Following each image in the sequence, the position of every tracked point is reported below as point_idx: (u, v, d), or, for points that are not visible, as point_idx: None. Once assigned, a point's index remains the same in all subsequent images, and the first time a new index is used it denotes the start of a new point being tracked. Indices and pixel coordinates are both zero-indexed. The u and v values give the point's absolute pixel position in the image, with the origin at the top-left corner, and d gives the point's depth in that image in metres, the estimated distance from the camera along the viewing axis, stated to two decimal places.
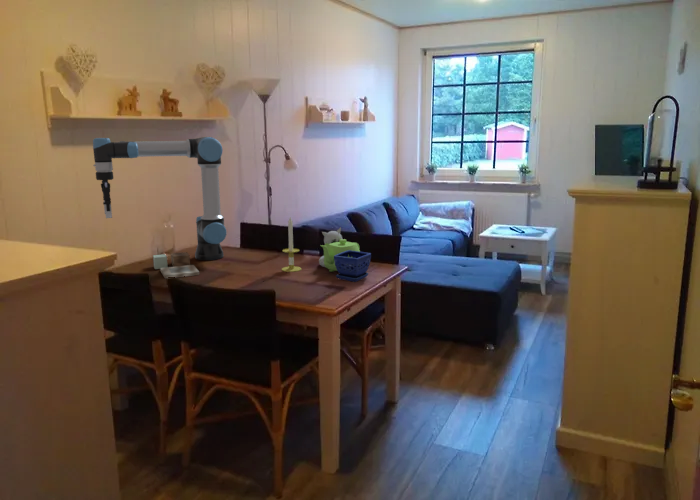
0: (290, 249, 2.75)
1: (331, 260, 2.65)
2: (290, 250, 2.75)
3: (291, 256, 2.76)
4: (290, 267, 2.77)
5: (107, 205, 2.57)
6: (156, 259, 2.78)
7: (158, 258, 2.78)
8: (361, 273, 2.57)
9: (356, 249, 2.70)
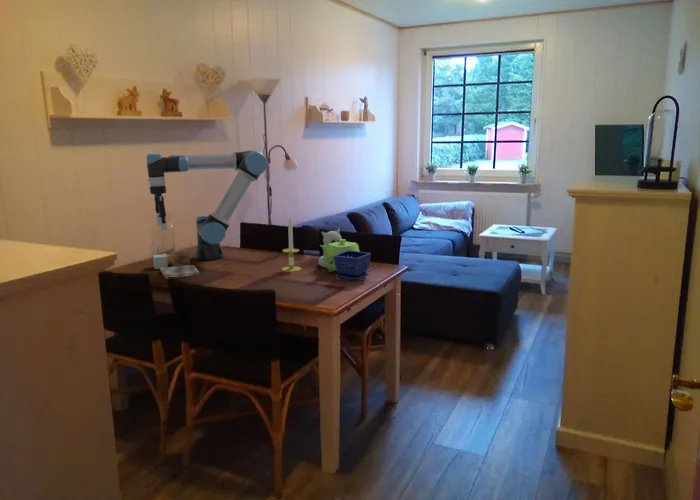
0: (290, 249, 2.75)
1: (331, 260, 2.65)
2: (290, 250, 2.75)
3: (291, 256, 2.76)
4: (290, 267, 2.77)
5: (162, 218, 2.70)
6: (156, 259, 2.78)
7: (158, 258, 2.78)
8: (361, 273, 2.57)
9: (356, 249, 2.70)
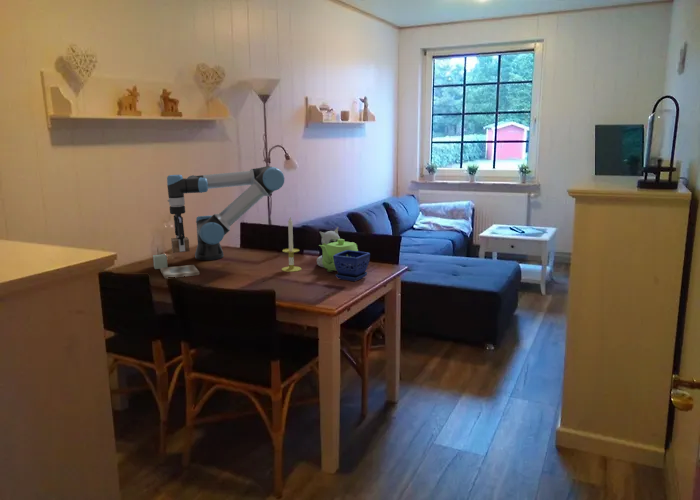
0: (290, 249, 2.75)
1: (330, 260, 2.65)
2: (290, 250, 2.75)
3: (291, 256, 2.76)
4: (290, 267, 2.77)
5: (181, 240, 2.78)
6: (156, 259, 2.78)
7: (158, 258, 2.78)
8: (360, 272, 2.57)
9: (354, 249, 2.70)
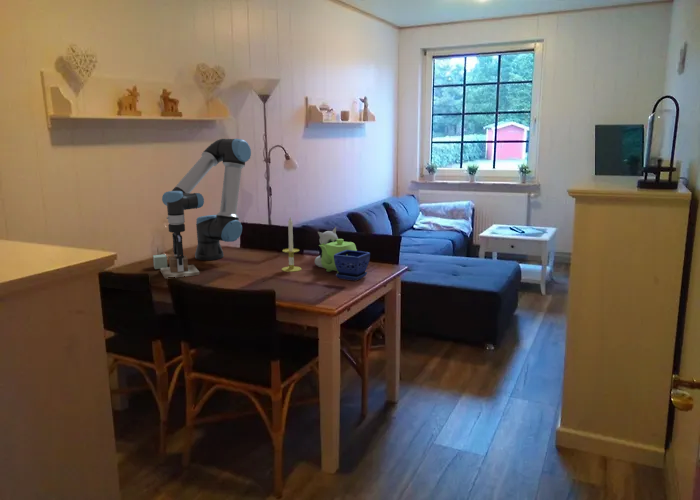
0: (290, 249, 2.75)
1: (329, 260, 2.65)
2: (290, 250, 2.75)
3: (291, 256, 2.76)
4: (290, 267, 2.77)
5: (180, 259, 2.64)
6: (156, 259, 2.78)
7: (158, 258, 2.78)
8: (361, 272, 2.58)
9: (353, 248, 2.71)
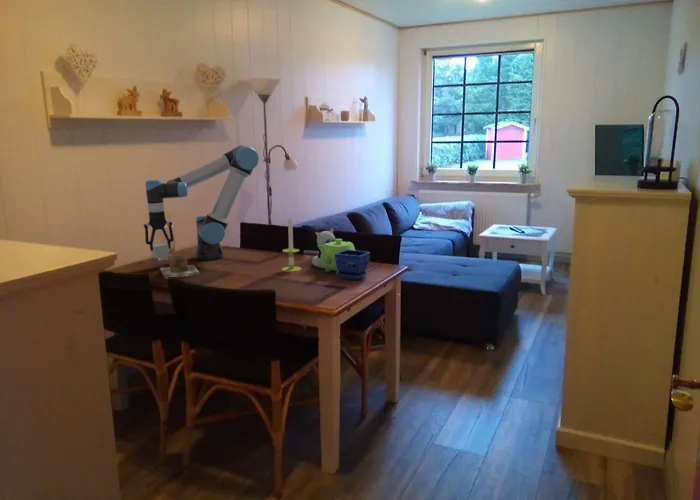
0: (290, 249, 2.75)
1: (329, 260, 2.65)
2: (290, 250, 2.75)
3: (291, 256, 2.76)
4: (290, 267, 2.77)
5: None
6: (156, 248, 2.77)
7: (158, 247, 2.77)
8: (361, 271, 2.59)
9: (352, 248, 2.72)
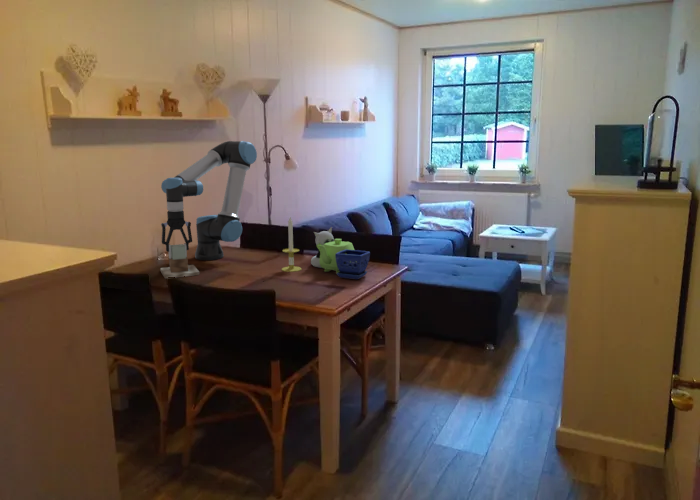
0: (290, 249, 2.75)
1: (329, 260, 2.66)
2: (290, 250, 2.75)
3: (291, 256, 2.76)
4: (290, 267, 2.77)
5: None
6: (174, 249, 2.65)
7: (176, 248, 2.65)
8: (362, 271, 2.60)
9: (352, 248, 2.72)
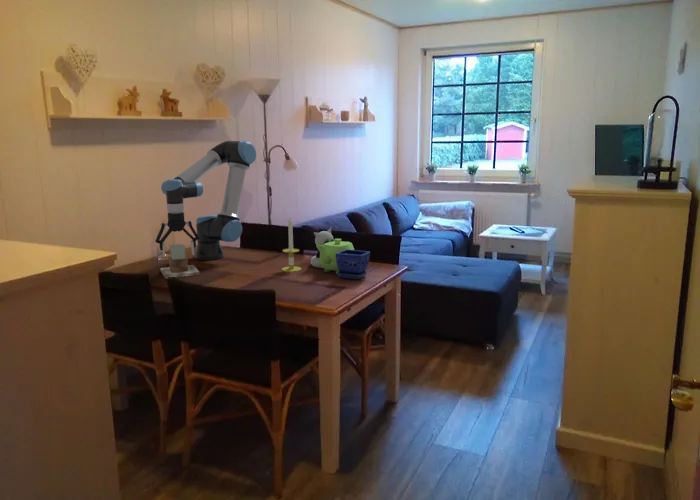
0: (290, 249, 2.75)
1: (329, 260, 2.66)
2: (290, 250, 2.75)
3: (291, 256, 2.76)
4: (290, 267, 2.77)
5: None
6: (173, 249, 2.65)
7: (176, 248, 2.65)
8: (362, 271, 2.60)
9: (351, 248, 2.72)
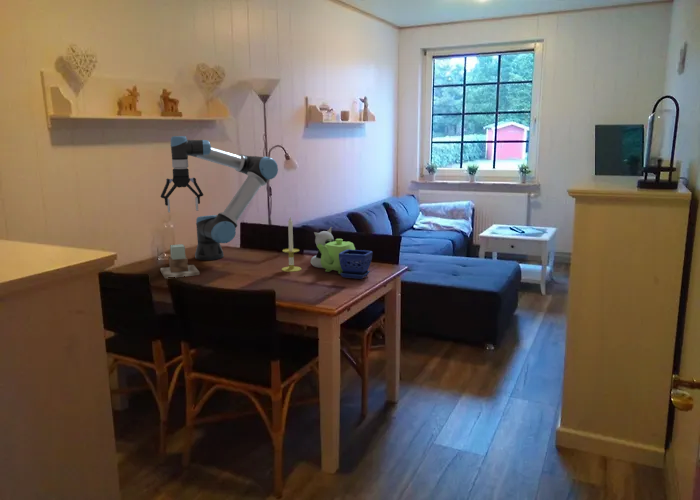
0: (290, 249, 2.75)
1: (331, 260, 2.65)
2: (290, 250, 2.75)
3: (291, 256, 2.76)
4: (290, 267, 2.77)
5: None
6: (173, 249, 2.65)
7: (176, 248, 2.65)
8: (365, 270, 2.60)
9: (353, 248, 2.73)
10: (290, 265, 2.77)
